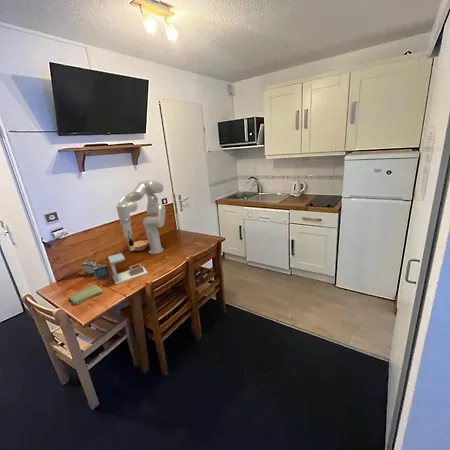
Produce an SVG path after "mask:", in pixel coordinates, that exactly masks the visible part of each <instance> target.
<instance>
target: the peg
mask: <svg viewBox="0 0 450 450" xmlns="http://www.w3.org/2000/svg"><path fill="white" fill-rule="evenodd" d="M128 237H129V236H128ZM128 237H127V238H126V241H128ZM127 244H128V250H129V252H133V251H135V245H133V246H129V242H127Z"/></svg>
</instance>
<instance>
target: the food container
mask: <svg viewBox="0 0 450 450" xmlns="http://www.w3.org/2000/svg"><path fill="white" fill-rule="evenodd" d="M80 266H81V267H82V269H83V273H84V274H85V276H86V277H94V278H95V275H94V271H93V269H94V268H96V267H97V266H98V264H97V262H96V261H95V260H87V261H84V262H81V263H80Z"/></svg>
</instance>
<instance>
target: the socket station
mask: <svg viewBox="0 0 450 450" xmlns="http://www.w3.org/2000/svg"><path fill="white" fill-rule="evenodd" d="M107 259H108V261H109V265H110V269H111V272H112V273H111V274H112V279H113V282H114V284H115V285H120V284H122V283H125V282H128V281H130V280H134V279H136V277H137V278H140V277H143V276H145V275H148V274H149V273H148V271H147V270H146V268H145V267H144V265H142V264H141V262H139V263H136V264H133V265H130V266H128V267H129V268H128V270H126V271H125V270H124V271H122V272H120V273H119V272H117V269H116V265H115V264H116V263H121V262H123V261H126V258H125V256H124V255H123V253H122V252H119V253H117V254H112V255H109V256H108V257H107ZM139 276H140V277H139ZM133 278H134V279H133Z"/></svg>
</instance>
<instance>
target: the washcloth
mask: <svg viewBox="0 0 450 450" xmlns="http://www.w3.org/2000/svg"><path fill="white" fill-rule="evenodd" d="M102 293H104V291H103V289H102V288H101V287H100V286H98V284H93V285H90V286H88V287H86V288H83V289H81V290H80V291H76V292H74V293H72V294H70V295H69V296H68V299H69V300H70V301H71V302H72V305H75V306H78V305H80V304H82V303H84V302H86V301H88V300H90V299H92V298H95V297H96V296H98V295H101V294H102Z"/></svg>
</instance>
